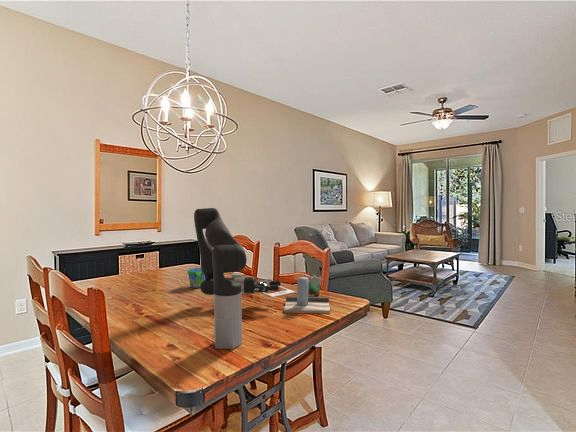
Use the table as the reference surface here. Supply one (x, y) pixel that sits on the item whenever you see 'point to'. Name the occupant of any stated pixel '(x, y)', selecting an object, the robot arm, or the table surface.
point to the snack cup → (196, 277)
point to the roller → (302, 291)
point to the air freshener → (237, 275)
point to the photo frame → (280, 292)
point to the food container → (314, 285)
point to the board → (313, 305)
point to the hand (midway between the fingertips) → (279, 285)
